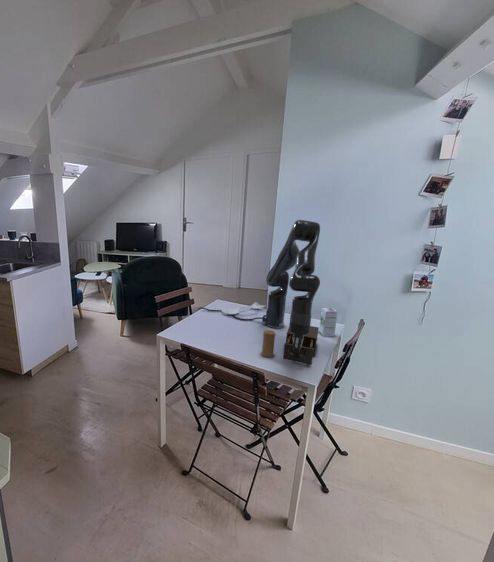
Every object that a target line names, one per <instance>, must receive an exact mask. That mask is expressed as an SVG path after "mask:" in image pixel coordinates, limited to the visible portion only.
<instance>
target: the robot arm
mask: <svg viewBox="0 0 494 562" xmlns="http://www.w3.org/2000/svg"><path fill="white" fill-rule="evenodd" d="M320 234H321V224H320V223H319V222H316V221H311V220H305V219H297V220H295V221H294V222H293V224H292V226H291V229H290V231H289V234H288V236H287V238H286V240H285V243H284V245H283V247H282V249H281V250H280V253H279V254H278V256H277V258H276V260H275V262H274V264H273V266H272V267H271V268H270V270H269V271H268V272H267V275H266V280H265V281H266V285H268V287H271V288H275V289H274V290H271V291H269V292H268V294H267V295H268V296H267V297H268V298H267V306H266V307H267V308H266V311H265V314H263V315H262V317H259V316H258V317H253V318H241V317H238V316H236V315H235V314H233V315H231V316H232V317H233V318H234V319H236V320H240V321H255V320H262V321H261V322H262V323H265V324H264V326H266V327H269V328H273V329H281V328H283V327H284V325H285V322H284V321H285V313H286V312H285V311H286V304H287V303H286V302H287V295H288V288H290V289H291V290H292V291H293V292H302V293H305V294H303V295H296V296H294V297H293V298H292V303H291V311H290V316H289V323H288V324H289V326H288V329H289V330H290V331H291V332H292V333H294V334H293V338H292V340H293V351H294V353H293V359H297V360H298V359H299V355H300V350H301V347H302V344H303V339H304V335H306V334H308V333H309V332H310V326H311V324H312V323H311V322H312V309H313V308H312V307H313V302H314V298H315V296H316V295H317V292H318V290H319V288H320V285H321V279H320V277H319V276H318V275H316V274H314V272H315V270H316V252H317V248H318V244H319V239H320ZM297 241H299V242H305V243H308V244H307V245H306V246H305V247H304V248H302V249H301V250H300V248H299V246H298V244H297ZM293 268H294V270H293V273H292V275H291V277H290V275H289V272H288V271H289V270H291V269H293ZM201 309H203V310H206V311H209V312H222V310H223V309H209V308H207V307H203V306H201V307H198V308H197V310H201ZM222 313H223V312H222Z"/></svg>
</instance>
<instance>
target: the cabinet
mask: <svg viewBox="0 0 494 562" xmlns="http://www.w3.org/2000/svg"><path fill="white" fill-rule="evenodd" d="M319 329H320V326H319V327H318V326H313V325H312V326H311V325H310V332H309V333H308V334H306V335H304V338H309V339H314V340H313V348H314V349H313V357H315V355H316V350H317V344H318V336H319ZM286 331H287V332H286V337H285V343H287V341H288V339H289V336H290V335H293V334H294V333H292V332H291V331H290V330H289V328H288V329H287V330H286Z"/></svg>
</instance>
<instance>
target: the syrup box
mask: <svg viewBox="0 0 494 562" xmlns="http://www.w3.org/2000/svg"><path fill="white" fill-rule="evenodd" d="M320 312H321V313H320V321H319V329H318V333H320V334H321V335H322V336H323V337H335V334H336V325H337V319H338V311H337V310H336V309H335V308H333V307H321V311H320Z"/></svg>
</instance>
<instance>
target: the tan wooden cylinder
mask: <svg viewBox="0 0 494 562" xmlns="http://www.w3.org/2000/svg"><path fill="white" fill-rule="evenodd" d="M275 339H276V332H275V331H274V330H272V329H271V330H270V329H265V330H264V331H263V335H262V346H261V347H262V349H261V355H262V356H263V357H265V358H272V357H274V352H275V351H274V350H275V341H276V340H275Z"/></svg>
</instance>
